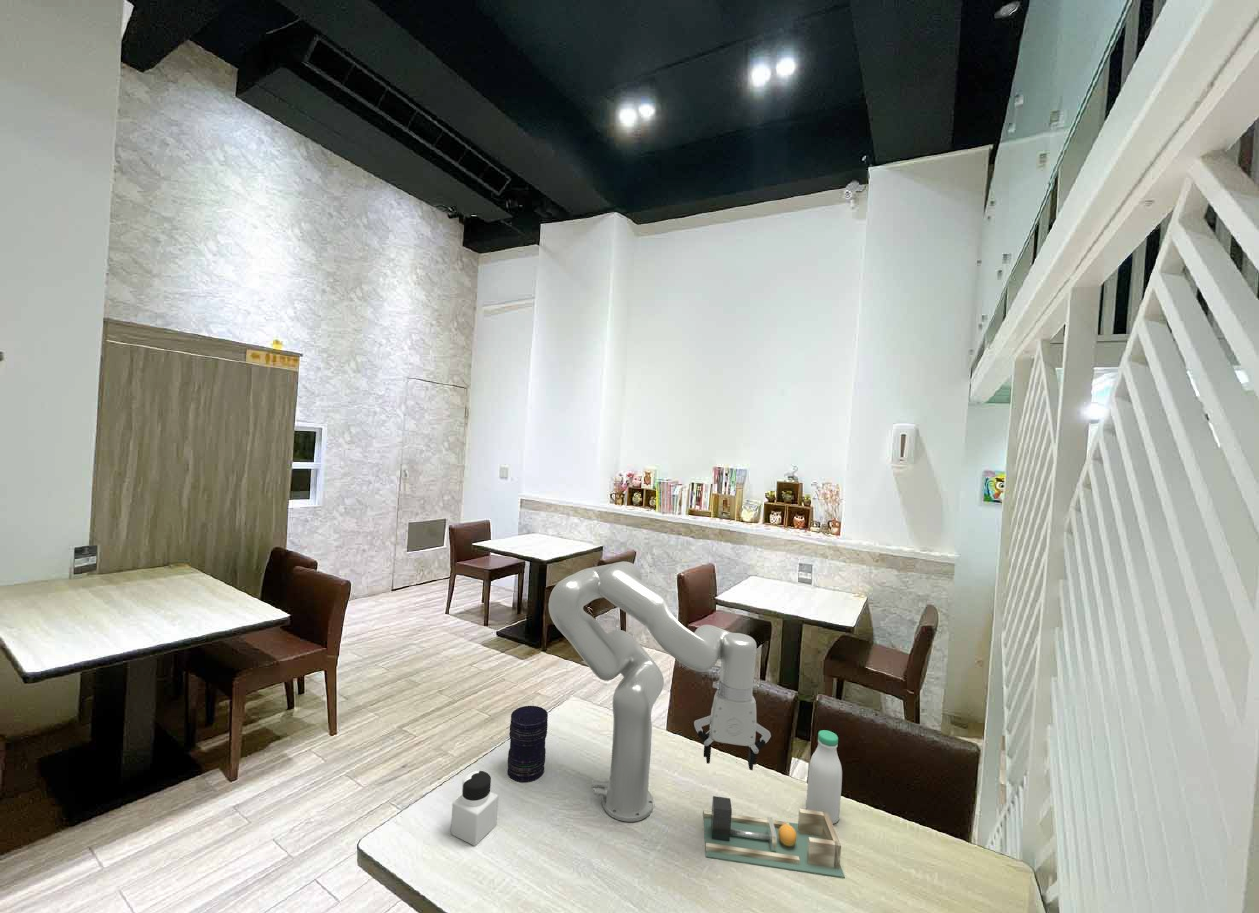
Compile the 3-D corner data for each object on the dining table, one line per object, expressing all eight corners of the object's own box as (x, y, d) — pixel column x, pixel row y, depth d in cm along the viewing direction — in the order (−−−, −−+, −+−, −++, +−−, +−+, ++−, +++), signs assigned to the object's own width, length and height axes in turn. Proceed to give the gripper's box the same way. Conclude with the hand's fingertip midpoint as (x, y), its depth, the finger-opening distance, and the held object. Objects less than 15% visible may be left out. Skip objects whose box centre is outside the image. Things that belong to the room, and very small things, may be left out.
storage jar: (527, 754, 141) (530, 701, 140) (552, 769, 135) (556, 714, 135) (498, 771, 133) (502, 715, 132) (524, 788, 127) (528, 729, 127)
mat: (705, 857, 109) (706, 856, 109) (703, 811, 123) (703, 810, 123) (844, 878, 106) (844, 876, 106) (825, 828, 120) (825, 827, 120)
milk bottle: (842, 828, 120) (848, 746, 120) (808, 821, 122) (814, 740, 122) (835, 806, 128) (841, 728, 128) (803, 800, 129) (809, 723, 129)
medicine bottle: (497, 825, 114) (500, 773, 114) (475, 847, 108) (478, 791, 107) (472, 813, 117) (475, 762, 117) (449, 834, 111) (453, 780, 110)
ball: (779, 849, 112) (780, 831, 112) (776, 835, 116) (777, 818, 116) (797, 852, 112) (799, 834, 112) (794, 838, 116) (795, 821, 116)
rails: (705, 850, 111) (706, 846, 111) (703, 814, 121) (703, 810, 121) (799, 864, 108) (799, 859, 108) (788, 826, 119) (788, 822, 119)
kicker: (712, 841, 113) (714, 811, 113) (710, 822, 119) (712, 793, 119) (775, 851, 111) (778, 820, 111) (771, 830, 117) (773, 801, 117)
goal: (808, 864, 109) (809, 841, 109) (797, 829, 119) (799, 808, 119) (839, 868, 108) (841, 845, 108) (826, 833, 118) (827, 812, 118)
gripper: (697, 692, 113) (691, 767, 113) (777, 703, 111) (770, 779, 111) (697, 677, 120) (691, 747, 120) (771, 687, 118) (764, 759, 118)
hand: (728, 763), depth 116 cm, fingers open, 9 cm apart
